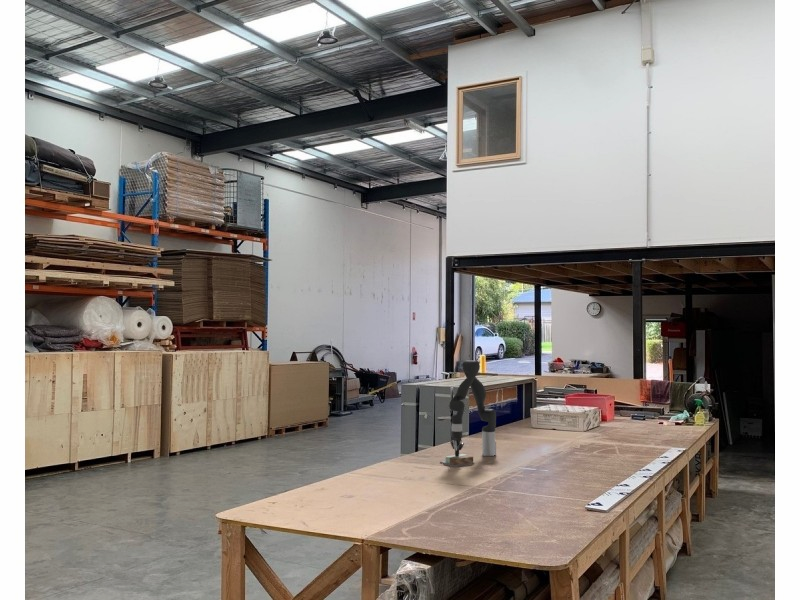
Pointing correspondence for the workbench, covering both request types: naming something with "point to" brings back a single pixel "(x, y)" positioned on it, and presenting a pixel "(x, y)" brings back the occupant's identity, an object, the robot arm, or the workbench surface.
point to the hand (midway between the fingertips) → (457, 456)
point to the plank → (453, 456)
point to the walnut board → (461, 460)
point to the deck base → (455, 465)
